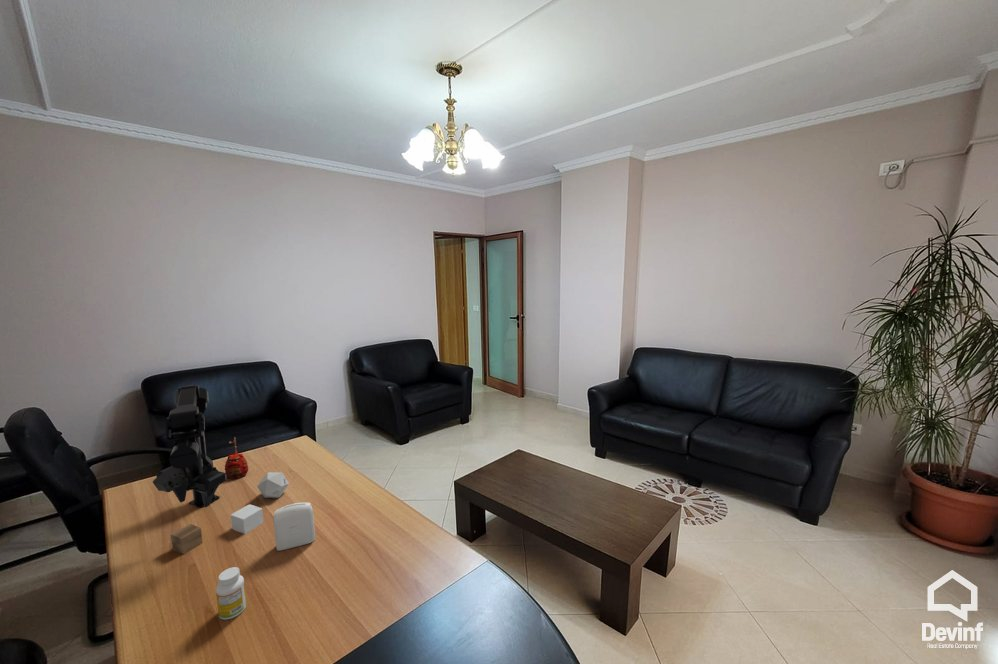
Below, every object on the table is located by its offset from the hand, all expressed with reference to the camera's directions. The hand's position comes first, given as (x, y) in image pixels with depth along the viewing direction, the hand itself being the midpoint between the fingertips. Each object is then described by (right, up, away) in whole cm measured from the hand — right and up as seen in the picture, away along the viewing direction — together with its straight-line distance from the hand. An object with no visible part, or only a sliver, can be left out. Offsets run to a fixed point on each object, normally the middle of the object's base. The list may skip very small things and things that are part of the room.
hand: (194, 504), depth 110 cm
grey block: (+9, -11, +9) cm, 17 cm away
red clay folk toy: (-15, -7, +40) cm, 43 cm away
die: (+8, -9, +26) cm, 29 cm away
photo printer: (+29, -13, +2) cm, 31 cm away
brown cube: (-2, -13, 0) cm, 13 cm away
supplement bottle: (+26, -16, -21) cm, 37 cm away
